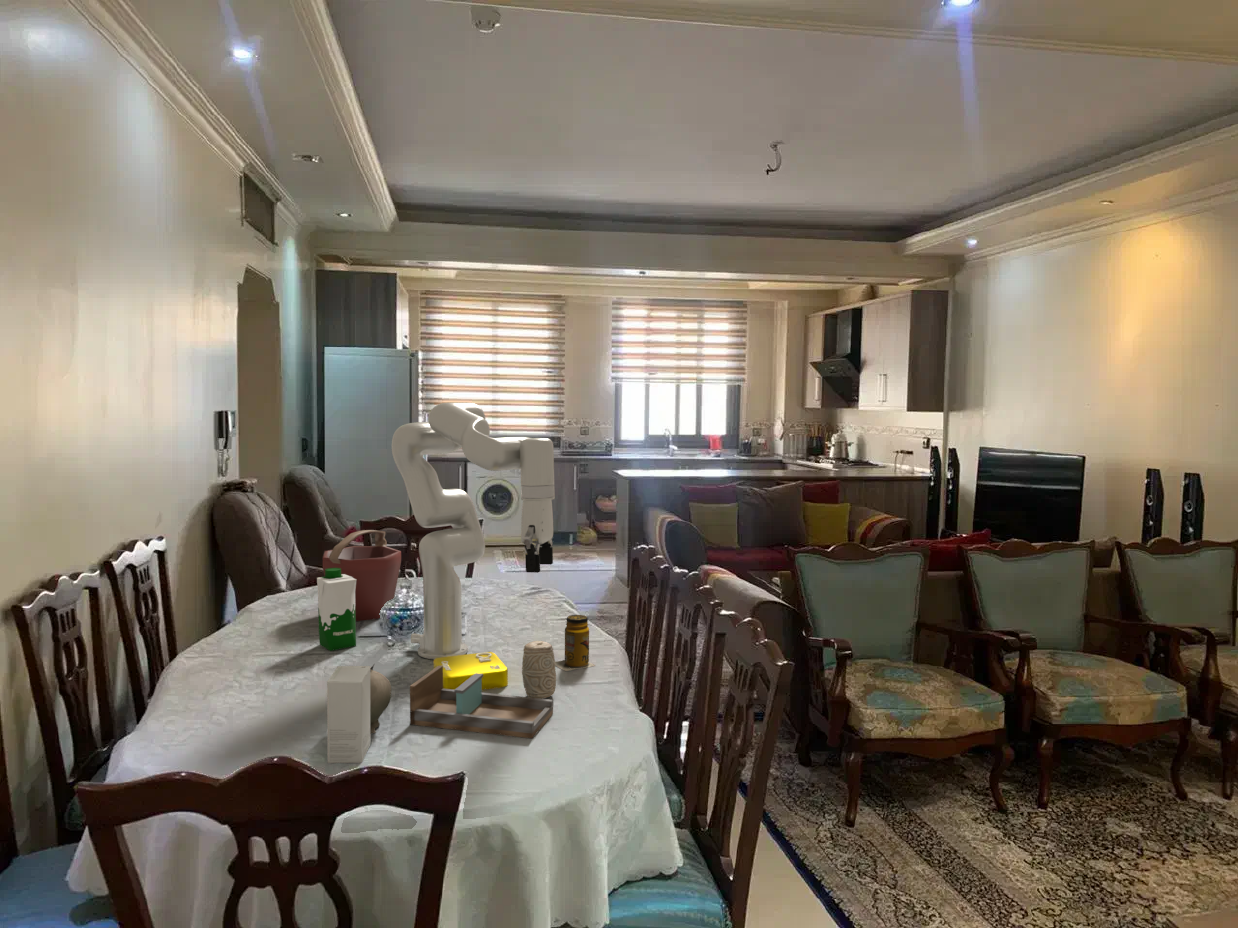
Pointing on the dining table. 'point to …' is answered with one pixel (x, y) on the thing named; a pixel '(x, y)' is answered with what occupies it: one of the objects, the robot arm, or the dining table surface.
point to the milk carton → (336, 610)
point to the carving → (539, 670)
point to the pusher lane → (476, 710)
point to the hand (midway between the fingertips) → (539, 568)
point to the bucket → (367, 571)
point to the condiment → (576, 644)
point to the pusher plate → (469, 694)
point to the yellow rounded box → (473, 670)
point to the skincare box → (348, 714)
